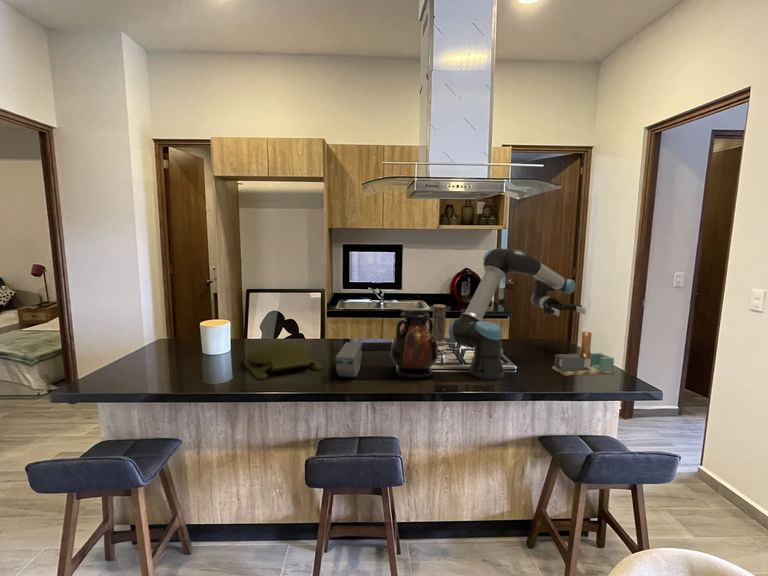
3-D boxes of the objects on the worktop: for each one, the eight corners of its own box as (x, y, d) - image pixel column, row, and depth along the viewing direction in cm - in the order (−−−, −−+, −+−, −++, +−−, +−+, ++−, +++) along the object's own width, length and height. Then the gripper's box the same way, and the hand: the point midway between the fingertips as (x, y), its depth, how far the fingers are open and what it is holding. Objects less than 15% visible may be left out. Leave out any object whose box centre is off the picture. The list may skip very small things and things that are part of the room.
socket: (601, 370, 191) (602, 358, 190) (588, 364, 200) (589, 353, 199) (613, 370, 192) (614, 358, 191) (599, 364, 201) (600, 352, 200)
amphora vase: (420, 363, 202) (421, 307, 198) (447, 376, 183) (449, 315, 180) (381, 370, 192) (382, 311, 188) (406, 384, 173) (407, 319, 169)
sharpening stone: (353, 382, 175) (353, 357, 173) (335, 381, 175) (335, 357, 174) (361, 364, 199) (362, 342, 198) (345, 363, 200) (346, 342, 199)
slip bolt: (563, 368, 190) (565, 334, 188) (558, 365, 194) (560, 332, 192) (591, 367, 192) (594, 333, 190) (586, 364, 196) (588, 331, 194)
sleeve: (562, 371, 189) (563, 358, 188) (554, 367, 195) (555, 354, 194) (583, 370, 191) (584, 357, 190) (575, 366, 197) (576, 353, 196)
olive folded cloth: (324, 370, 191) (324, 350, 190) (258, 382, 175) (257, 359, 174) (299, 352, 221) (298, 334, 219) (239, 360, 205) (239, 341, 203)
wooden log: (443, 348, 231) (445, 304, 227) (444, 351, 224) (446, 306, 221) (431, 347, 231) (433, 304, 228) (432, 351, 224) (433, 306, 221)
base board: (564, 375, 187) (564, 372, 187) (552, 368, 197) (552, 366, 197) (613, 373, 191) (613, 370, 191) (598, 366, 201) (599, 364, 201)
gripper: (571, 309, 225) (595, 318, 204) (527, 312, 222) (547, 321, 201) (571, 296, 223) (595, 303, 203) (527, 298, 221) (547, 306, 200)
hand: (571, 312), depth 202 cm, fingers open, 13 cm apart
